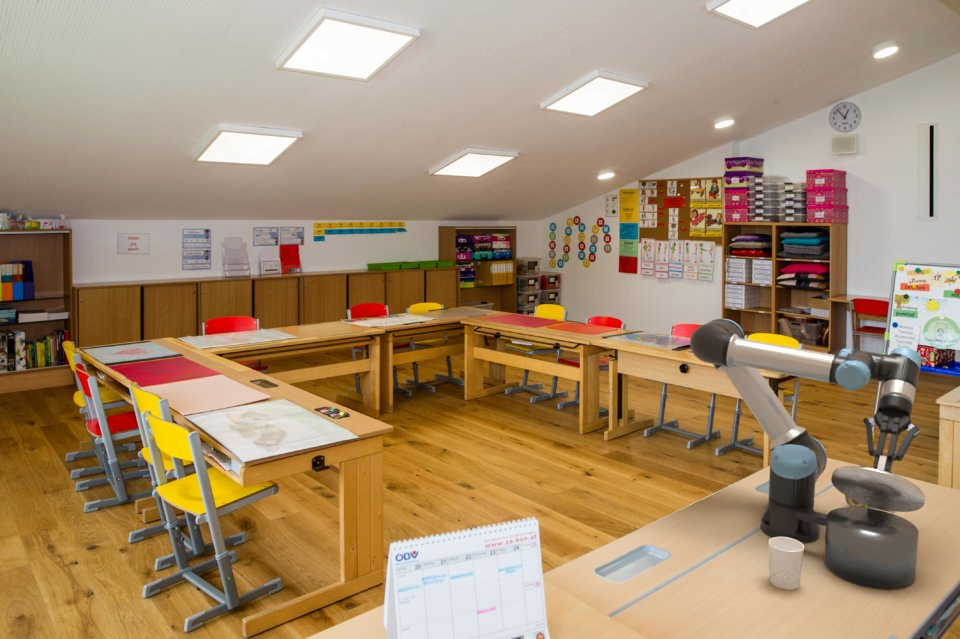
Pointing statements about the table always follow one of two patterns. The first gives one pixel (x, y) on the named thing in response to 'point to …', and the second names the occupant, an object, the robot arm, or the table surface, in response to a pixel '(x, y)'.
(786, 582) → the white cup
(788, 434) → the robot arm
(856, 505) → the bird rattle
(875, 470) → the cooker lid
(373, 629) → the table surface
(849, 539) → the cooker pot
